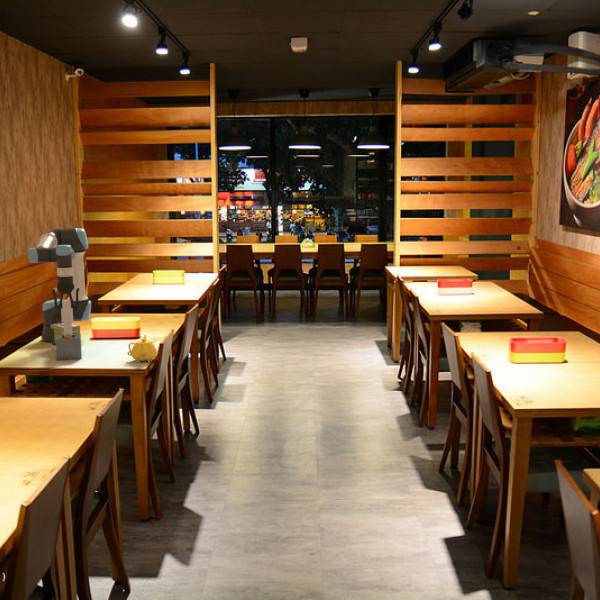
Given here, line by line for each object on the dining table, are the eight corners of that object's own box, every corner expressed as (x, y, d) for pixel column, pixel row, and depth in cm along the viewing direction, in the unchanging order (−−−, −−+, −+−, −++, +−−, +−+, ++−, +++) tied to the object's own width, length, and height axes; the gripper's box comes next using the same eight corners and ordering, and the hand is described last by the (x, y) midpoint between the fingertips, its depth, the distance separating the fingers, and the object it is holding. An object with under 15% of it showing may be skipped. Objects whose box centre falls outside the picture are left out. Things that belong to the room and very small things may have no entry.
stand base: (53, 356, 365) (52, 332, 363) (85, 354, 370) (84, 330, 368) (52, 364, 350) (51, 338, 348) (85, 361, 355) (84, 336, 353)
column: (64, 345, 361) (62, 299, 357) (73, 344, 362) (70, 299, 358) (64, 347, 356) (62, 301, 352) (72, 346, 357) (70, 301, 353)
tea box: (81, 352, 376) (80, 325, 374) (64, 355, 369) (62, 327, 367) (68, 347, 387) (67, 321, 384) (51, 350, 380) (49, 323, 377)
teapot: (129, 356, 367) (129, 334, 365) (158, 355, 369) (158, 334, 367) (125, 365, 347) (124, 343, 345) (155, 364, 349) (155, 342, 347)
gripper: (46, 277, 347) (49, 323, 351) (82, 276, 352) (85, 321, 356) (47, 275, 354) (50, 320, 358) (82, 274, 359) (84, 319, 363)
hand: (67, 321), depth 357 cm, fingers closed on column, 4 cm apart
